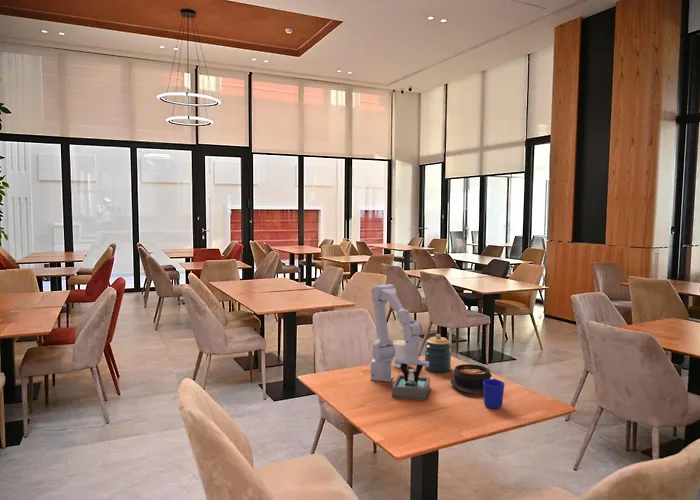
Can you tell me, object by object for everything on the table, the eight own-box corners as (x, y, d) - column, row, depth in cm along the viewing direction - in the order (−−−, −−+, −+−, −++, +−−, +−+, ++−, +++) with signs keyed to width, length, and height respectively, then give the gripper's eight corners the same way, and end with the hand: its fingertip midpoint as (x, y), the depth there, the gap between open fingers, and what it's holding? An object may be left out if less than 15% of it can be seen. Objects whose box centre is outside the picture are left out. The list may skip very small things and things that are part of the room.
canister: (444, 374, 240) (445, 338, 239) (420, 370, 247) (420, 334, 246) (454, 367, 251) (455, 333, 250) (430, 363, 258) (431, 329, 257)
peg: (406, 389, 215) (406, 371, 215) (407, 386, 219) (407, 368, 218) (415, 390, 214) (415, 372, 214) (416, 387, 218) (417, 369, 217)
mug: (504, 401, 207) (505, 377, 206) (503, 411, 196) (504, 387, 195) (483, 398, 210) (484, 375, 209) (481, 409, 199) (482, 384, 198)
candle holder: (388, 365, 253) (388, 342, 253) (399, 361, 261) (400, 339, 260) (403, 370, 247) (404, 346, 246) (415, 365, 254) (415, 342, 253)
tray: (391, 397, 211) (392, 386, 210) (398, 384, 226) (398, 374, 226) (425, 400, 207) (425, 389, 207) (429, 387, 222) (429, 377, 222)
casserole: (449, 377, 237) (449, 359, 237) (489, 379, 234) (490, 361, 234) (451, 396, 213) (452, 376, 212) (496, 399, 210) (497, 379, 209)
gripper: (393, 351, 213) (393, 382, 214) (428, 354, 209) (427, 386, 210) (396, 347, 220) (396, 377, 221) (429, 350, 216) (429, 380, 217)
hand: (411, 381), depth 216 cm, fingers closed on peg, 4 cm apart
